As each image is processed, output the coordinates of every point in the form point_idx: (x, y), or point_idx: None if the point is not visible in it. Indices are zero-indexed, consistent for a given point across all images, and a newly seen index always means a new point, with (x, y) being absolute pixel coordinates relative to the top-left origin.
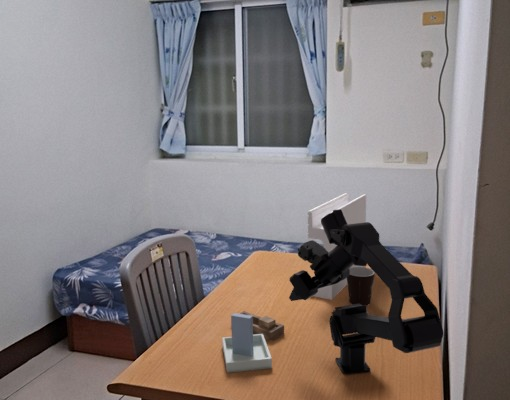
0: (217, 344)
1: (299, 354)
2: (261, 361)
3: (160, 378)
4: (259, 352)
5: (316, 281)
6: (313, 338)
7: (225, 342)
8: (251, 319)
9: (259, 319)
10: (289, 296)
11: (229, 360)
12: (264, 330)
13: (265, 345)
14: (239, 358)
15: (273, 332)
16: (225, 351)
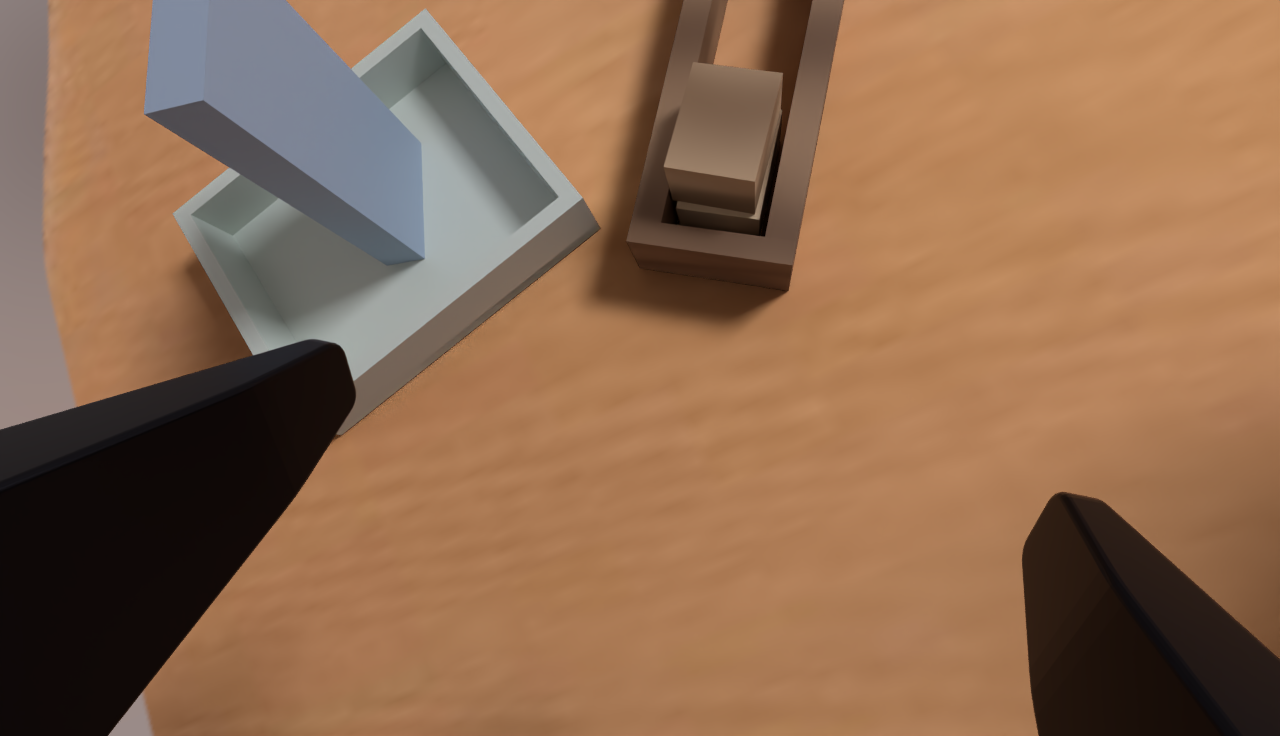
0: (468, 15)
1: (559, 524)
2: None
3: (108, 14)
4: (451, 282)
5: (1171, 733)
6: (836, 528)
7: (438, 51)
8: (201, 123)
9: (691, 71)
10: (275, 350)
11: None
12: (642, 178)
13: (433, 304)
14: None
15: (655, 248)
16: None
